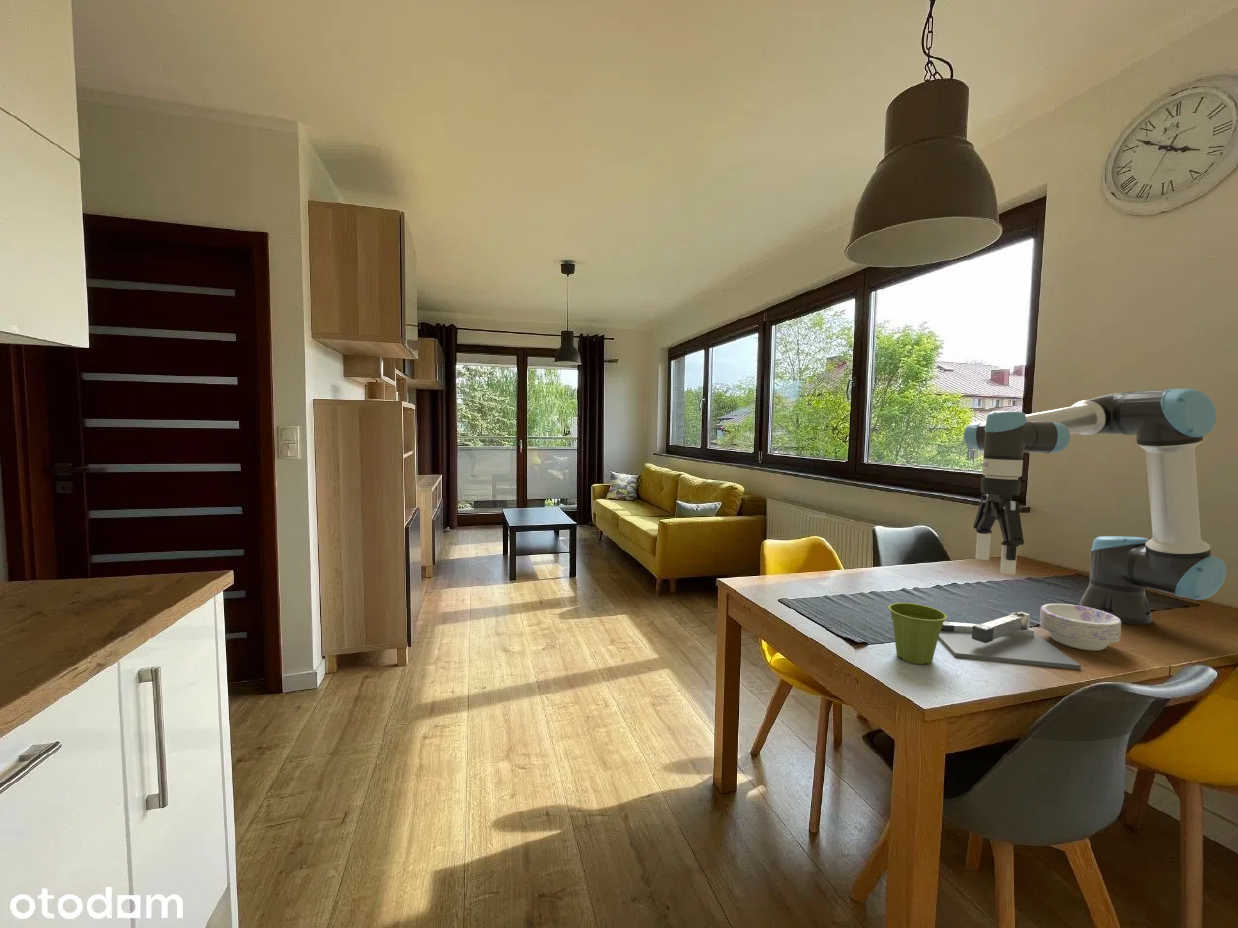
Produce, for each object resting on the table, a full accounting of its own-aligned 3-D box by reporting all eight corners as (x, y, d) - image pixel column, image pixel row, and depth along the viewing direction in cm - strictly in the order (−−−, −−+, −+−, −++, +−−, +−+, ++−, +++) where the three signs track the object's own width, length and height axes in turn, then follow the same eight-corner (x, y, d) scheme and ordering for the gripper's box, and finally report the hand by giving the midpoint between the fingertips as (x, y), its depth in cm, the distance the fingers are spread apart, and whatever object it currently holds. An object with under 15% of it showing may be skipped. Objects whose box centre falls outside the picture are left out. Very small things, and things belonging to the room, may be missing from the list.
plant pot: (954, 672, 114) (957, 622, 114) (895, 667, 117) (898, 617, 116) (931, 649, 126) (934, 604, 125) (879, 645, 128) (881, 600, 127)
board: (1029, 633, 137) (1030, 629, 137) (1080, 669, 117) (1080, 665, 116) (924, 624, 143) (924, 620, 142) (955, 657, 122) (955, 652, 122)
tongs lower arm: (1027, 632, 135) (1028, 626, 135) (1034, 637, 132) (1035, 630, 132) (935, 626, 138) (935, 620, 138) (940, 630, 135) (940, 624, 135)
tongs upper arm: (1016, 622, 137) (1017, 609, 137) (1032, 627, 134) (1033, 613, 133) (970, 638, 126) (971, 623, 126) (986, 643, 123) (987, 628, 123)
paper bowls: (1024, 636, 135) (1027, 606, 135) (1060, 628, 141) (1063, 599, 140) (1096, 660, 121) (1099, 627, 121) (1133, 651, 127) (1136, 619, 126)
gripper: (962, 472, 136) (956, 552, 138) (1007, 481, 112) (999, 578, 114) (995, 473, 134) (989, 555, 136) (1048, 483, 110) (1040, 582, 112)
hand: (994, 566), depth 125 cm, fingers open, 13 cm apart
